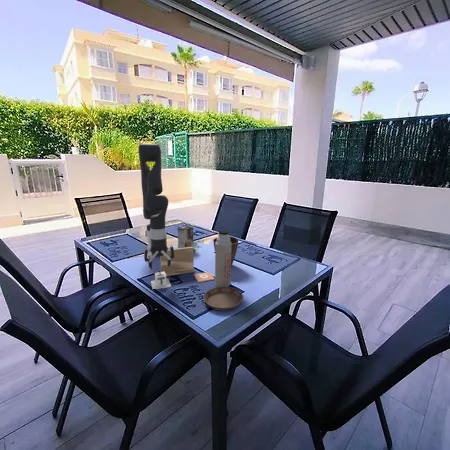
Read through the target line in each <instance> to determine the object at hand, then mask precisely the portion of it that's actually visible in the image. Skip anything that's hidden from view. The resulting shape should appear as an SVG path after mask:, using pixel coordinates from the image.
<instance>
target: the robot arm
mask: <svg viewBox="0 0 450 450" xmlns="http://www.w3.org/2000/svg"><path fill="white" fill-rule="evenodd" d="M138 158H139V165H140V166H139V167H140V174H141V175H140V176H141V178H140V179H141V181H140V182H141V192H142V193H141V194H142V214H143V218H144V219H145V220H149V223H148V224H147V225H146V240H147V242H146V243H147V248H144V249H143V250H144V251H143V252H144V253H143V254H144V255H143V256H144V257H143V260H144V262H145V263H146V262H147V263H148V268H149V269H150V270H152V269H153V262H152V261H153V260H154V259H155V257H156V258H159V257H160V256H164V255H165V257H167V265H168V267H169V266H170V265H171V259H172V258H174V249H175V248H174V247H173V245H170V246H167V229H166V215H167V210H168V206H169V198H168V197H167V196H166V195H162V192H163V190H164V189H163V180H162V150H161V146H160V145H159V144H158V143H150V142H149V143H148V142H147V143H145V142H144V143H140V144H139V145H138ZM148 163H154V165H153V167H152V168H151V169H150V167H149V165H148ZM168 249H169V251H171V255H170V256H169V255H168V254H167V253H166V252H167V250H168Z"/></svg>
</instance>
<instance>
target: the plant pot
mask: <svg viewBox="0 0 450 450" xmlns="http://www.w3.org/2000/svg"><path fill="white" fill-rule="evenodd" d="M218 237H219V236H218ZM218 237H215V238H213V240H212V242H213V247H214V250H215V243H216V242H217V238H218ZM229 238H230V242H231V243H232V244H231V267H232V266H233V263H234V261H235V257H236V255H237V252H238V247H239V239H238V238H237V237H234V236H229Z"/></svg>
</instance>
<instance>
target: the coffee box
mask: <svg viewBox="0 0 450 450" xmlns="http://www.w3.org/2000/svg"><path fill="white" fill-rule="evenodd" d="M177 242H178V243H177V244H178V245H177V246H178V247H177V248H185V247H193V248H194V227H193V226H190V225H184V226H181V227H178V228H177Z"/></svg>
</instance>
